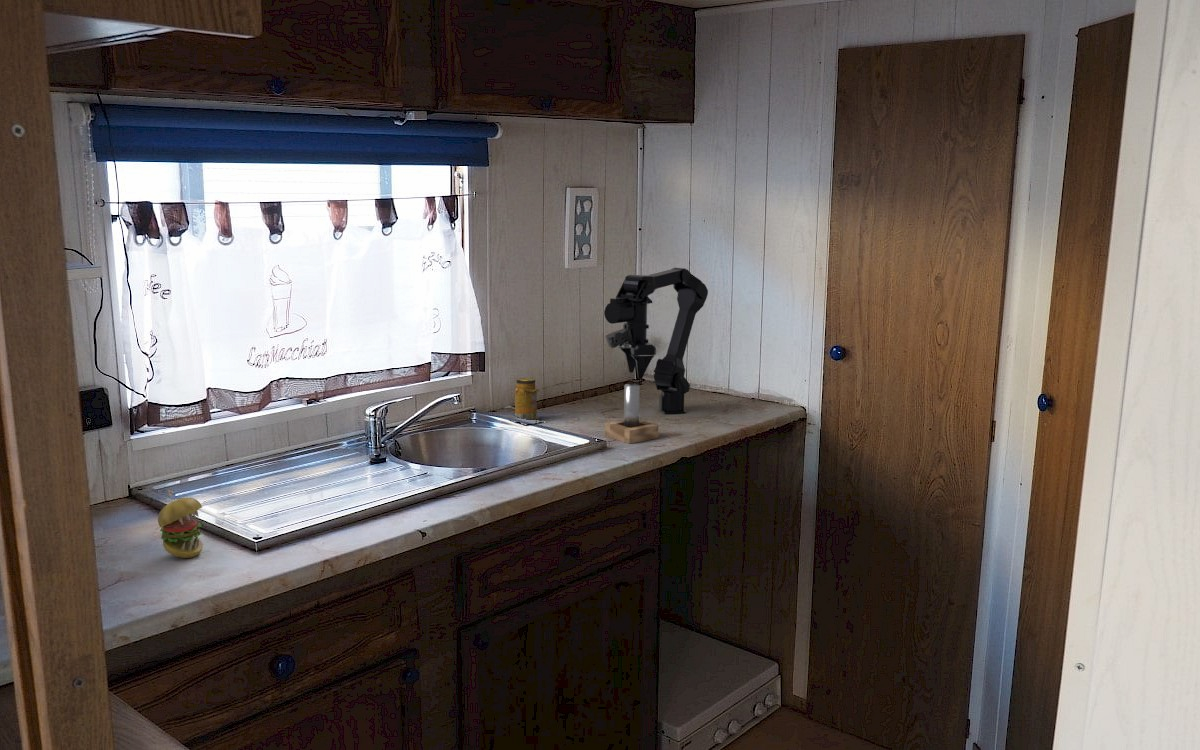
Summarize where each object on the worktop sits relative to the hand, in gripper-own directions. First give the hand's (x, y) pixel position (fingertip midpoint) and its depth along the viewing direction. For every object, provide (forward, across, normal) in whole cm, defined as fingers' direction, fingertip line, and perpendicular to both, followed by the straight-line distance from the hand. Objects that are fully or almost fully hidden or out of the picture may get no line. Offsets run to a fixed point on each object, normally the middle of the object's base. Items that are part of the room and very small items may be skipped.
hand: (635, 375), depth 287 cm
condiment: (+13, -5, -30) cm, 33 cm away
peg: (+13, +18, -6) cm, 23 cm away
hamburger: (+13, +85, -108) cm, 138 cm away
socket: (+13, +18, -6) cm, 23 cm away
